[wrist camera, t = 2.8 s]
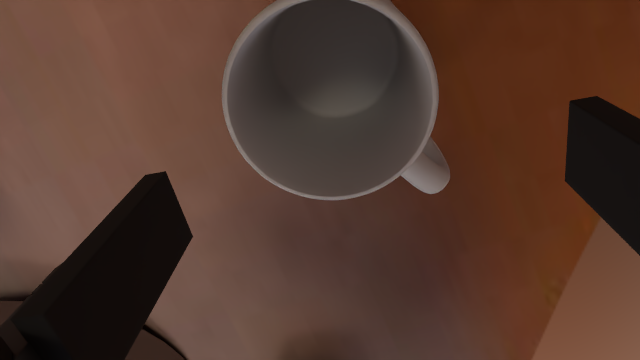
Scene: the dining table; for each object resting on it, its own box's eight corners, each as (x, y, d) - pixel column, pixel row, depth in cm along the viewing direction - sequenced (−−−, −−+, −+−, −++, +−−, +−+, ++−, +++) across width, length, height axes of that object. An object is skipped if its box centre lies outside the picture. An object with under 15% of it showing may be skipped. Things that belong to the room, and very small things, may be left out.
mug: (239, 58, 26) (176, 116, 17) (329, -62, 23) (316, -76, 13) (377, 173, 29) (392, 278, 20) (473, 83, 26) (548, 156, 16)
